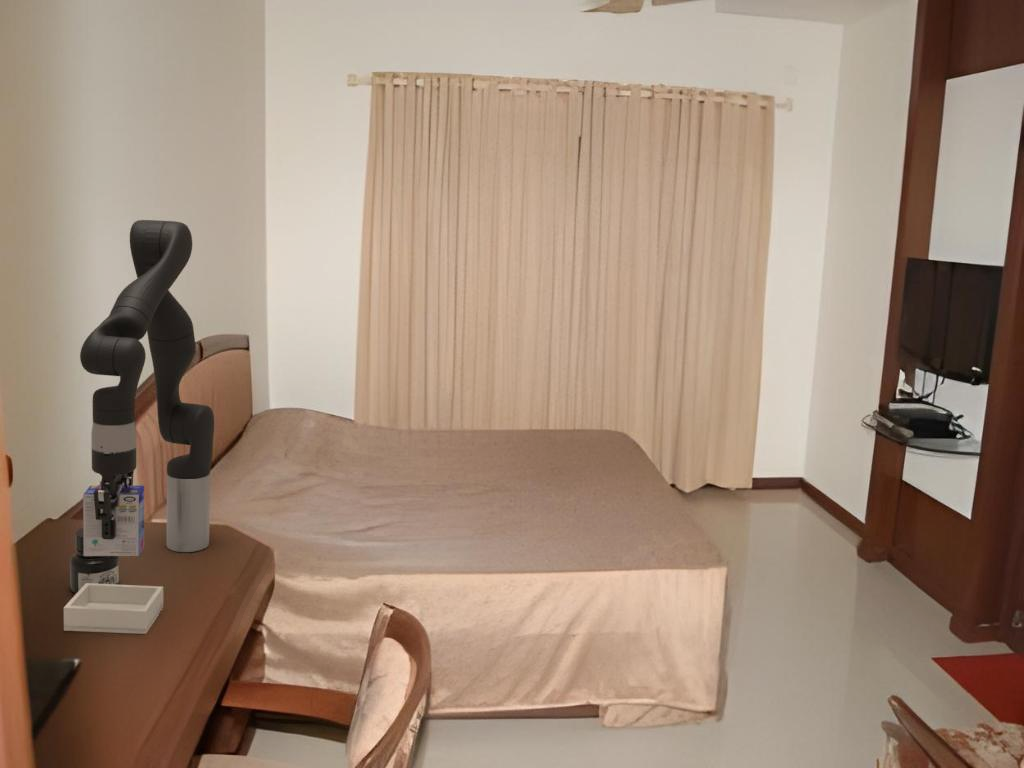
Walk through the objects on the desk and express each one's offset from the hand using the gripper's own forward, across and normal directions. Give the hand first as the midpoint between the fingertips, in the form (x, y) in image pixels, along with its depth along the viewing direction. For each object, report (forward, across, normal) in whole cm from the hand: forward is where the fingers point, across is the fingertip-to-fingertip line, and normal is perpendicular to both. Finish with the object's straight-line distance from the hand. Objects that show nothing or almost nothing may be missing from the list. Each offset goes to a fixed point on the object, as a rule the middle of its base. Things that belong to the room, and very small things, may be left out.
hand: (114, 531), depth 170 cm
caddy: (+18, 0, 0) cm, 18 cm away
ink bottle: (+18, -13, -8) cm, 24 cm away
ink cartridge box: (+4, 0, 0) cm, 4 cm away
